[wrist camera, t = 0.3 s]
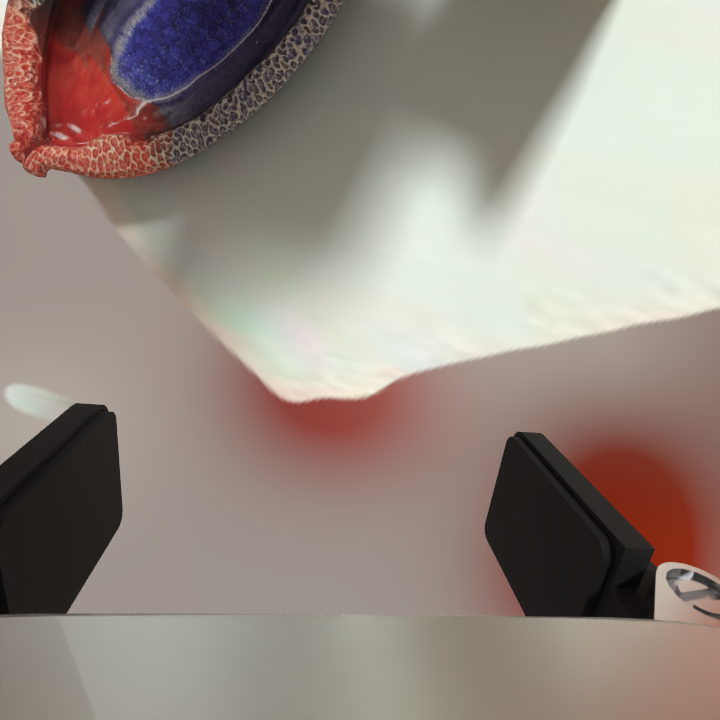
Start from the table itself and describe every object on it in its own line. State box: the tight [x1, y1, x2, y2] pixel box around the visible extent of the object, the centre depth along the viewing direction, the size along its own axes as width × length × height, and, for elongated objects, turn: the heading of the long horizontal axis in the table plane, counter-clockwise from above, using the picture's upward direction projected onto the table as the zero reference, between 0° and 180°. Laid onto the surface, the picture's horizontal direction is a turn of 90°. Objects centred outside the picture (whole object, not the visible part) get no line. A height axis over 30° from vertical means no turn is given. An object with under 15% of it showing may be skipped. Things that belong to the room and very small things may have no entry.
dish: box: [2, 0, 344, 179], centre depth 30 cm, size 16×31×5 cm, turn 125°
